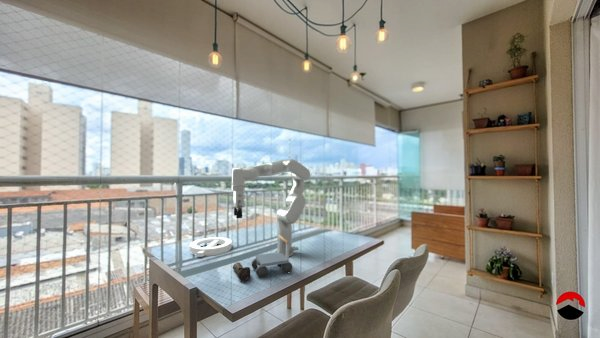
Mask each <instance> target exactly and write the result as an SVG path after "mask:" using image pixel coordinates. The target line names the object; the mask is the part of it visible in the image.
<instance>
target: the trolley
mask: <svg viewBox="0 0 600 338" xmlns="http://www.w3.org/2000/svg"><path fill="white" fill-rule="evenodd" d="M281 239H282V240H283V241H284V242H285V243H286V257H285V256H284V255H283V254H282V253H281ZM275 252H276V251H275ZM275 252H270V253H263V254H256V255H255V258H253V259H252V260H251V268H253V270H255V274H256V276H257V277H258V278H259V279H264V278H266V277H267V276H268V273H269V269H268V267H271V266H278V267H280V270H281V271H282V273H284V274H285V273H288V272H290V273H291V272H292V270H293V264H292V263H291V261H290V260H289V257H290V256H289V242H288V241H287V240H286V239H284V238H283V237H282V236H281V235H279V252H276V253H275ZM288 274H289V273H288Z"/></svg>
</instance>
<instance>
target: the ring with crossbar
mask: <svg viewBox="0 0 600 338" xmlns="http://www.w3.org/2000/svg"><path fill="white" fill-rule="evenodd" d="M232 241H233V240H232V239H230V238H228V237H223V236H222V237H221V236H220V237H219V236H216V237H215V236H212V237H205V238H199V239H195V240H194V241H192V242H190V243H189V252H190V251H191V252H192V253H193V254H196V255H195V256H196V258H198V257H199V258H202V257H208V256H209V257H211V256H217V255H222V254H225V253H228V252H230V250H231V249H232V248H233V247H232V245H233V244H232V243H233V242H232ZM202 243H210V244H209V245H207V246H203V247H200V246H198V245H200V244H202ZM217 244H221V245H217ZM193 254H192V255H193Z"/></svg>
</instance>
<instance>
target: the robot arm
mask: <svg viewBox="0 0 600 338" xmlns="http://www.w3.org/2000/svg"><path fill="white" fill-rule="evenodd" d="M283 173H290V175H291V176H290V177H291V178H292V186H291V189H290V191H289V193H288V194H287V196H286V197H285V205H286V206H281V207H280V208H279V209H277V210H276V221H277V249H276V251H274V253H276V252H279V235H281V236H282V237H283V238H284V239H286V240H287V241H288V242H289V257H292V256H293V255H294V254H295V251H299V247H295V246H293V245H292V243H293V241H292V240H293V238H292V235H293V232H292V231H293V226H292V224H293V225H294V224H296V223H297V221H298V220H299V218H300V216H301V215H302V213H303V210H304V209H305V206H306V203H307V202H306V197H305V196H304V195H303V193H304V191H305V188H306V187H305V181H307V180H309V179H310V177H311V171H310V170H309V168H307V167H306V166H305V165H303V164H301V163H300V162H298V161H297V160H296V159H294V158H287V159H282V160H277V161H271V162H267V163H263V164H258V165H254V166H250V167H249V166H248V167H245V168H243V167H233V168H232V170H231V192H233V206H234V207H233V215H234V216H236V219H242V218H243V208H244V207H245V198H244V196H245V195H244V194H245V193H244V191H246V187H245V186H246V185H245V183H246V182H245V181H246V180H249V181H254V180H256V179H258V178H259V177H271V176H275V175H281V174H283ZM287 206H288V207H287ZM281 253H282V254H283V255H284V256H285V257H286V243H285V242H284V241H283V240H282V239H281Z"/></svg>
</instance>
